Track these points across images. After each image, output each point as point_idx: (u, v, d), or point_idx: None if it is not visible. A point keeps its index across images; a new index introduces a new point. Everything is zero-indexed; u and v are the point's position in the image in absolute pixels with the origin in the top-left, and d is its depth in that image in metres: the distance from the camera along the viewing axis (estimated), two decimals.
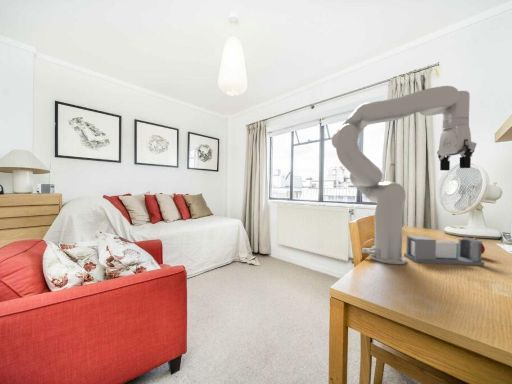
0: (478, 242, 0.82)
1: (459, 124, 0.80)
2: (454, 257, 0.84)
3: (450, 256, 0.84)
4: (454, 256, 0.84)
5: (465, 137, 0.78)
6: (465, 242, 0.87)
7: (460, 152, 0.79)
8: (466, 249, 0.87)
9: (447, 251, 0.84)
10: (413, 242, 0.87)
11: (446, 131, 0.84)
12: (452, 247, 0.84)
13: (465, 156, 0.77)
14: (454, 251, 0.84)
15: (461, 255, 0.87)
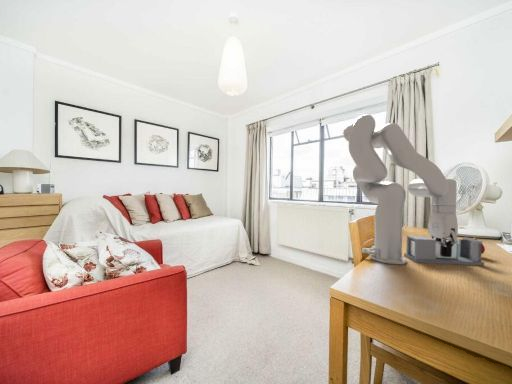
0: (478, 242, 0.82)
1: (446, 212, 0.82)
2: (454, 257, 0.84)
3: None
4: (454, 256, 0.84)
5: (452, 226, 0.81)
6: (465, 242, 0.87)
7: (443, 241, 0.84)
8: (466, 249, 0.87)
9: None
10: (413, 242, 0.87)
11: (434, 214, 0.87)
12: (452, 247, 0.84)
13: (446, 247, 0.83)
14: (454, 251, 0.84)
15: (461, 255, 0.87)
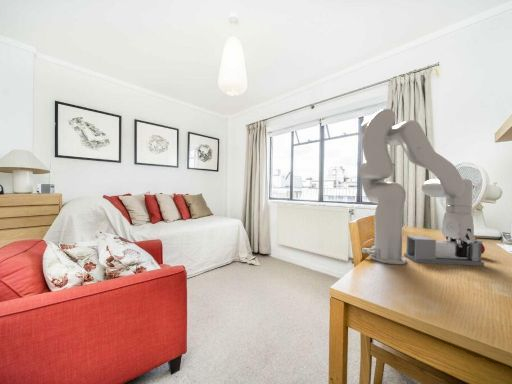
0: (478, 242, 0.82)
1: (462, 212, 0.82)
2: (469, 258, 0.83)
3: None
4: None
5: (468, 226, 0.80)
6: None
7: (459, 241, 0.83)
8: None
9: None
10: None
11: (449, 215, 0.86)
12: (467, 248, 0.83)
13: (461, 247, 0.83)
14: (469, 252, 0.83)
15: None
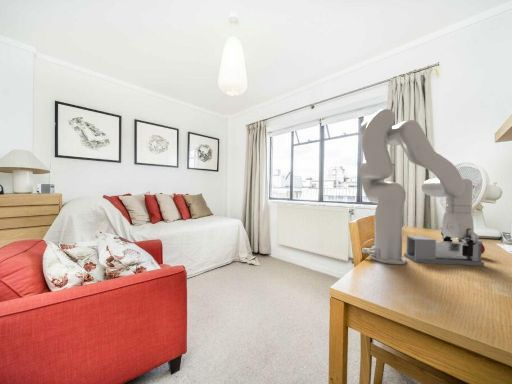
0: (478, 242, 0.82)
1: (462, 212, 0.82)
2: None
3: (465, 257, 0.83)
4: None
5: (468, 226, 0.80)
6: None
7: (463, 240, 0.81)
8: None
9: None
10: None
11: (449, 214, 0.86)
12: None
13: (468, 245, 0.80)
14: None
15: None
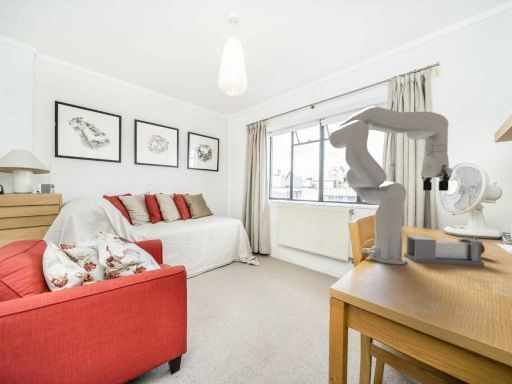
0: (478, 242, 0.82)
1: (438, 151, 0.89)
2: None
3: (465, 257, 0.83)
4: None
5: (443, 163, 0.87)
6: None
7: (439, 176, 0.88)
8: None
9: (462, 252, 0.84)
10: None
11: (428, 156, 0.93)
12: (467, 248, 0.83)
13: (443, 180, 0.87)
14: None
15: None
